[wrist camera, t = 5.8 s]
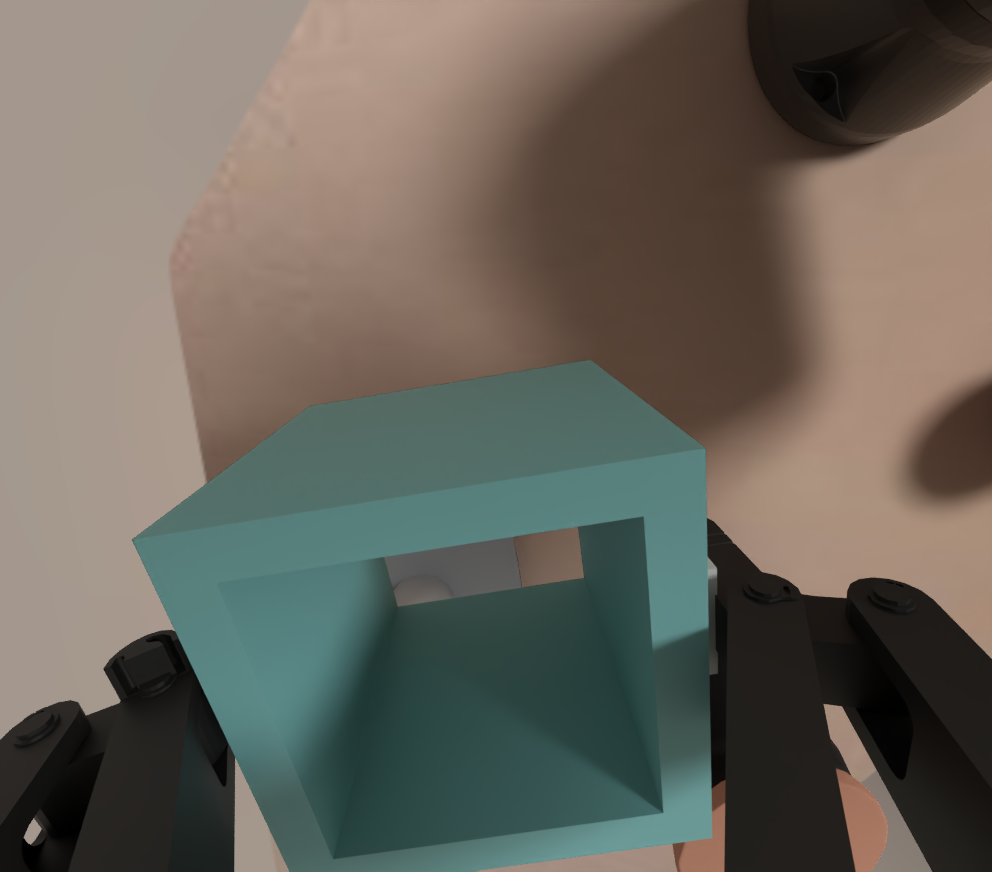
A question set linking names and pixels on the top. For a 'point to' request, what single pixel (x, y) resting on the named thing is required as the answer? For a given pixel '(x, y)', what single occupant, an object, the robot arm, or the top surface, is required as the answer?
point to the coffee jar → (706, 857)
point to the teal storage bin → (455, 626)
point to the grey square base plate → (454, 571)
